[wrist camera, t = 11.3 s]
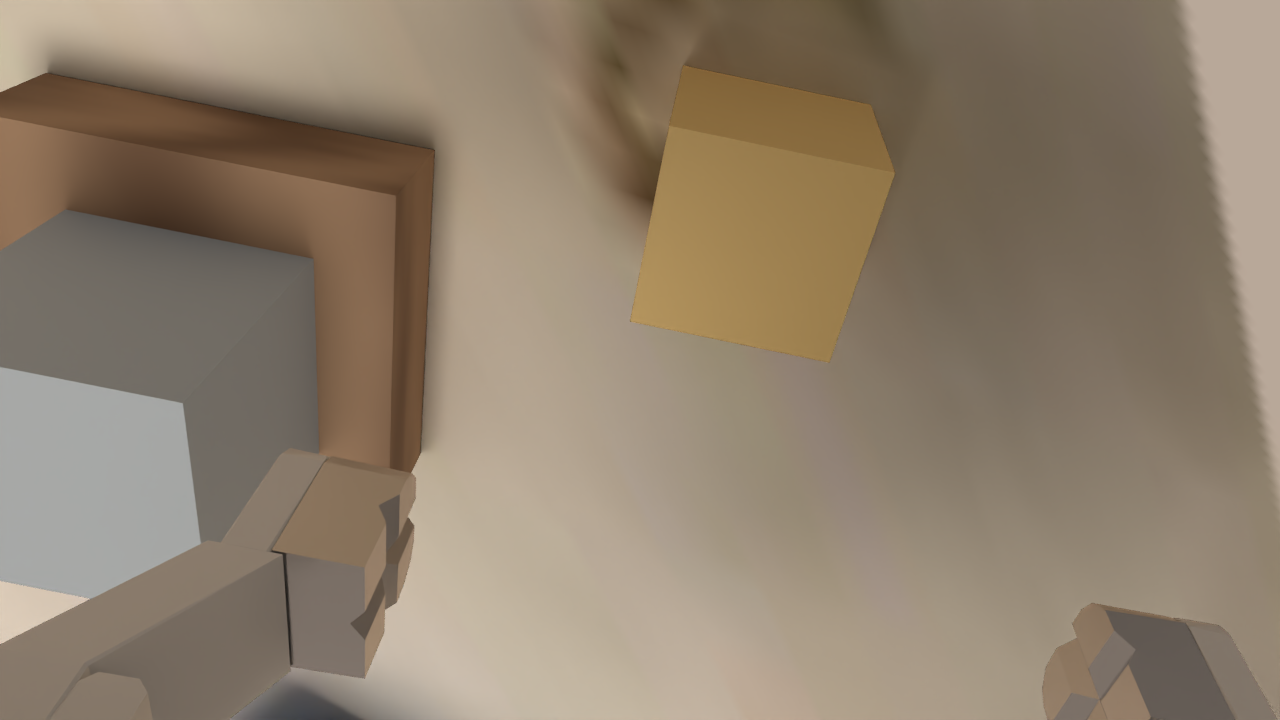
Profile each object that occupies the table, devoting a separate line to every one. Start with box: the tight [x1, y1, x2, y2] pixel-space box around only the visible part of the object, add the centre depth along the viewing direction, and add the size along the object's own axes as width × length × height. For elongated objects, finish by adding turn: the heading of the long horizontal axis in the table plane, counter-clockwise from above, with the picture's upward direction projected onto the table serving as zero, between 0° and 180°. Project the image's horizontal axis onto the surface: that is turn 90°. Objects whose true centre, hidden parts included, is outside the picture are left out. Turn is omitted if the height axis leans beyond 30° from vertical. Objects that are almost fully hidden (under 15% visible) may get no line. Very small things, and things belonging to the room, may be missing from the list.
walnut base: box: [0, 73, 435, 473], centre depth 25 cm, size 10×10×3 cm
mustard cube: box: [630, 65, 895, 362], centre depth 21 cm, size 4×4×4 cm
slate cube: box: [0, 209, 319, 599], centre depth 21 cm, size 6×6×6 cm
